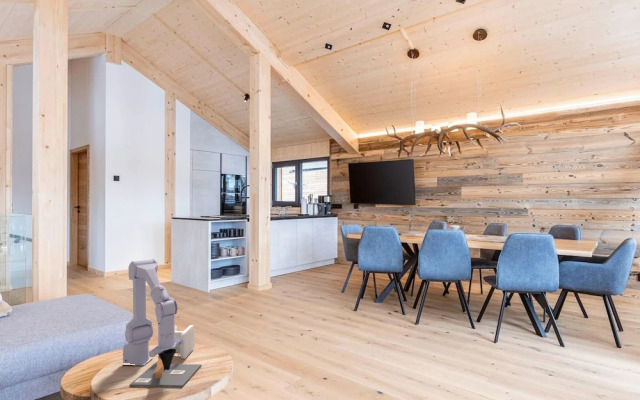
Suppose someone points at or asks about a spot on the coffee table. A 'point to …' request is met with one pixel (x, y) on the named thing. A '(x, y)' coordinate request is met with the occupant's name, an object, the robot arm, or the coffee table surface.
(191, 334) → the white notched block
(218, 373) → the coffee table surface
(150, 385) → the panel
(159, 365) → the bar
